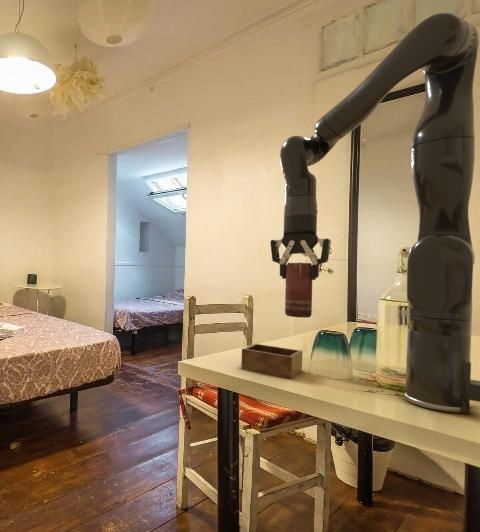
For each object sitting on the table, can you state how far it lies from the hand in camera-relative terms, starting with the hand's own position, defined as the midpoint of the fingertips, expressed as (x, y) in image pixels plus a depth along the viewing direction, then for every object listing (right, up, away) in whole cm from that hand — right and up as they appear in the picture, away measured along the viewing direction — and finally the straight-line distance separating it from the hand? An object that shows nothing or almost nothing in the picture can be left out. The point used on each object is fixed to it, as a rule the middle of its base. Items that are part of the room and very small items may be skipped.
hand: (298, 279), depth 103 cm
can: (0, -10, 0) cm, 10 cm away
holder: (-8, -23, -3) cm, 25 cm away
